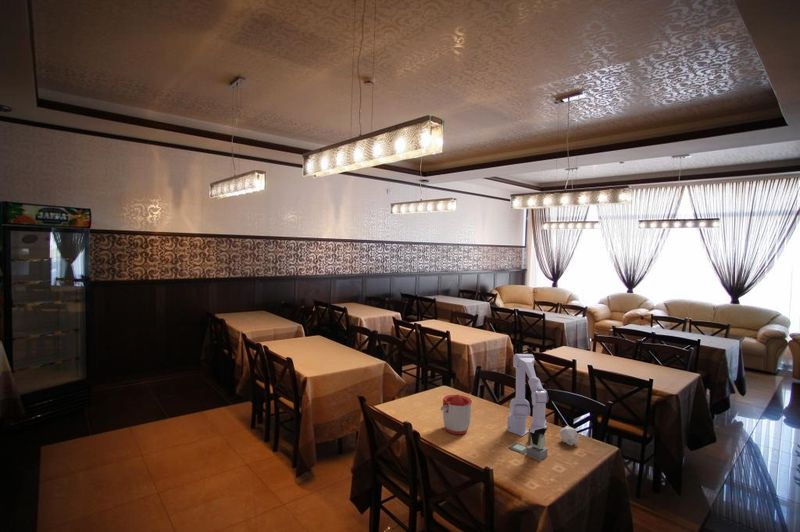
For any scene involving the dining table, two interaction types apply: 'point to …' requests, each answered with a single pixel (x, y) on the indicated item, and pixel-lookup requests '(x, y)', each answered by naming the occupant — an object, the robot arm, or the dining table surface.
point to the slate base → (537, 452)
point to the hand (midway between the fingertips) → (537, 442)
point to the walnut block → (529, 437)
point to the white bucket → (456, 413)
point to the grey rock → (569, 435)
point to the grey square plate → (518, 448)
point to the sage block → (539, 442)
